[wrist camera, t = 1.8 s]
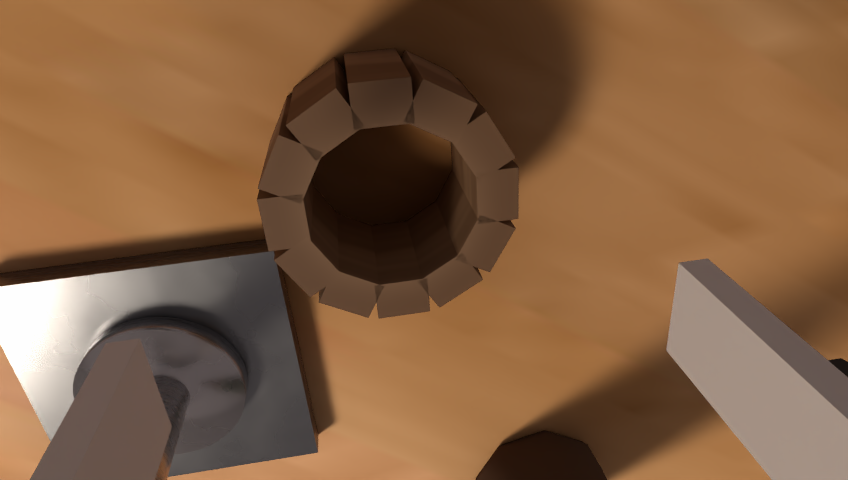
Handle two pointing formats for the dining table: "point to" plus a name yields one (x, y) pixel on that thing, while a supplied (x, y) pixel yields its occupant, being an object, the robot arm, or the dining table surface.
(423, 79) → the ring
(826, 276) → the dining table surface
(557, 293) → the dining table surface
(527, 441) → the beer bottle
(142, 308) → the post
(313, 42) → the dining table surface
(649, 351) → the dining table surface
